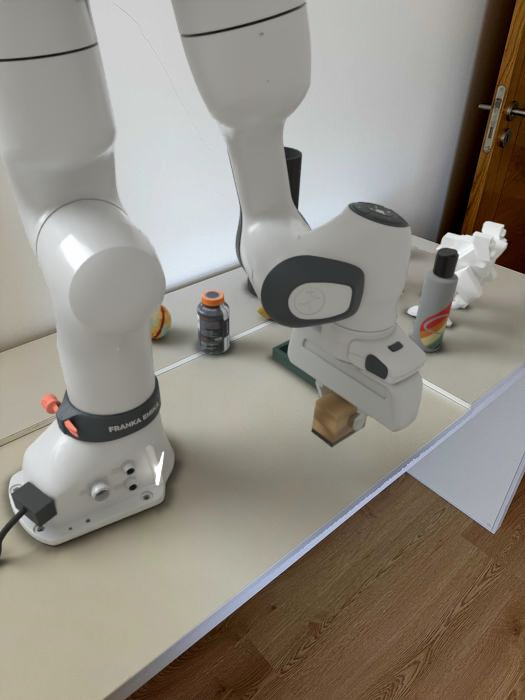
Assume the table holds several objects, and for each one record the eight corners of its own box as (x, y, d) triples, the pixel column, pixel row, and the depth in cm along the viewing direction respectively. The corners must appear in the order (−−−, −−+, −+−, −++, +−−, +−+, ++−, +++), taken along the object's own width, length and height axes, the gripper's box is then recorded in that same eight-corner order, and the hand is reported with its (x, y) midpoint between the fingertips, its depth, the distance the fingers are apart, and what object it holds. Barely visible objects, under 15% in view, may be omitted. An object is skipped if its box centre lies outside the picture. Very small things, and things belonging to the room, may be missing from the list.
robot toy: (432, 287, 126) (452, 203, 115) (493, 306, 120) (521, 220, 108) (399, 320, 113) (418, 230, 102) (466, 344, 107) (494, 251, 95)
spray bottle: (440, 354, 104) (467, 259, 92) (410, 350, 104) (433, 255, 93) (439, 338, 108) (463, 245, 97) (410, 334, 109) (431, 242, 98)
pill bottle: (236, 346, 103) (236, 294, 97) (213, 359, 100) (212, 306, 93) (214, 334, 107) (213, 283, 100) (191, 346, 103) (189, 293, 97)
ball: (139, 348, 102) (136, 317, 98) (133, 329, 107) (129, 298, 103) (176, 342, 104) (174, 311, 100) (167, 323, 109) (165, 293, 105)
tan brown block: (364, 426, 78) (371, 395, 75) (331, 447, 74) (337, 415, 71) (343, 412, 80) (349, 381, 77) (311, 431, 76) (315, 400, 73)
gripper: (282, 306, 72) (274, 387, 80) (407, 381, 60) (383, 469, 68) (314, 293, 76) (304, 372, 84) (439, 362, 64) (413, 447, 71)
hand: (340, 416), depth 76 cm, fingers closed on tan brown block, 4 cm apart
